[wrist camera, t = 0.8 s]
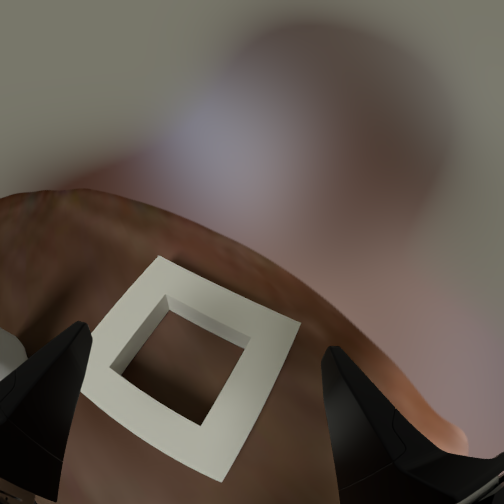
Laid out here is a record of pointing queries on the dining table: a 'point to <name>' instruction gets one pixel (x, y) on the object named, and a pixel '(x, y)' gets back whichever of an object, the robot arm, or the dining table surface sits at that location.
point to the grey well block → (212, 319)
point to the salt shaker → (10, 353)
